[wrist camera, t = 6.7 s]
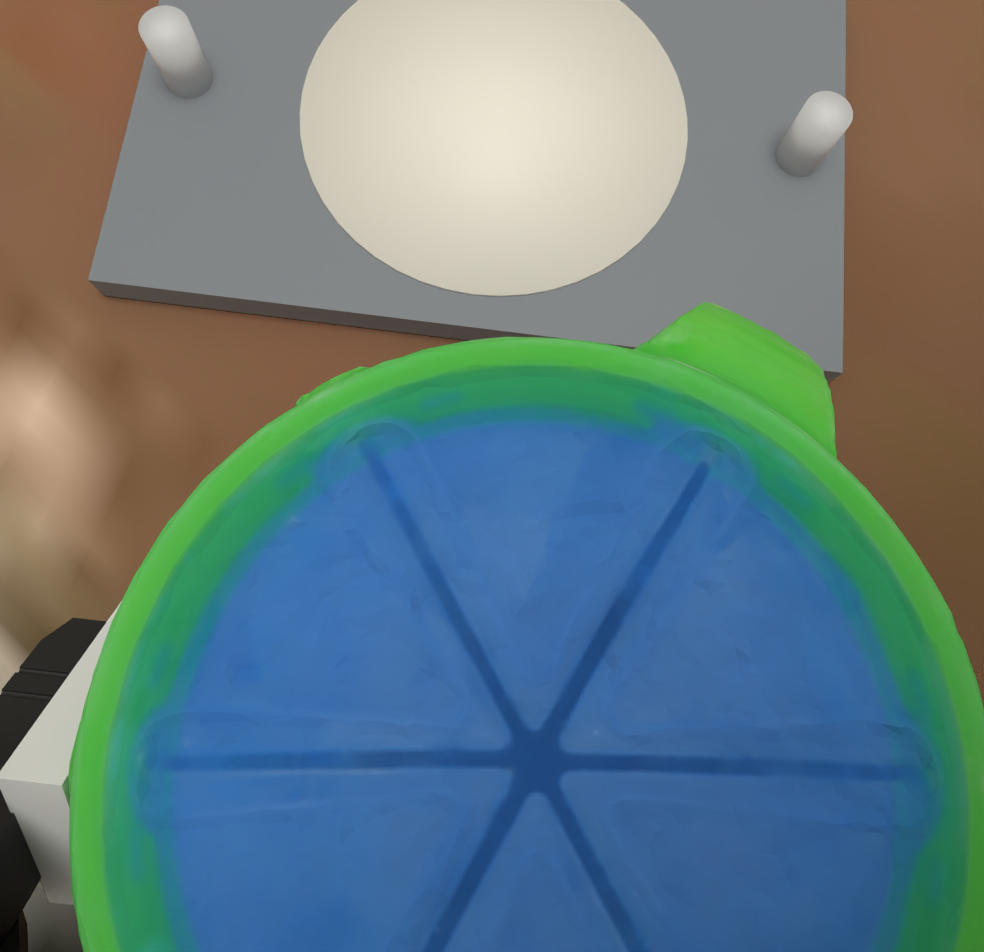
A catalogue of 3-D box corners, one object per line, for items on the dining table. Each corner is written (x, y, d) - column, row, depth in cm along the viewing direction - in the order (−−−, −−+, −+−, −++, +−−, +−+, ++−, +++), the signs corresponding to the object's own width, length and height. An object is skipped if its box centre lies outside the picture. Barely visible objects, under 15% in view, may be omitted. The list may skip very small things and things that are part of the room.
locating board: (831, 4, 25) (879, -79, 22) (825, 384, 22) (880, 346, 19) (197, -80, 25) (163, -174, 22) (104, 295, 22) (50, 243, 19)
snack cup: (481, 1145, 16) (495, 1989, 6) (123, 832, 17) (-361, 1106, 7) (848, 574, 19) (1269, 505, 9) (521, 339, 20) (570, 47, 10)
